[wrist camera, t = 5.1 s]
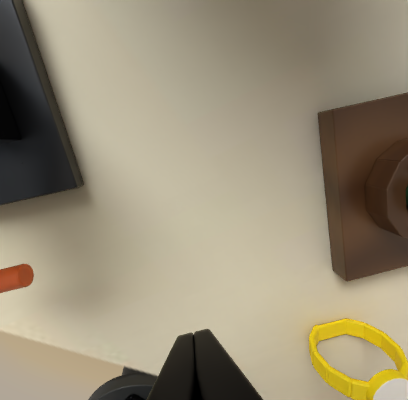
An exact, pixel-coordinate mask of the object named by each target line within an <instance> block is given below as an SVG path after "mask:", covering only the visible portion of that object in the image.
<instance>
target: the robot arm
mask: <svg viewBox="0 0 408 400" xmlns="http://www.w3.org/2000/svg"><path fill="white" fill-rule="evenodd" d="M125 400H145V399H144V398H142V397H140V396H139V395H137V394H130V395H129V396H128V397H127V398H126V399H125ZM147 400H263V399H262V397H261V396H260V395H259V393H258V392H257V391H256V390H255V388H254V387H253V386H252V384H251V383H250V382H249V380H248V379H247V378H246V377H245V375H244V374H243V373H242V371H241V370H240V369H239V367H238V366H237V365H236V364H235V362H234V361H233V360H232V358H231V357H230V356H229V354H228V353H227V352H226V350H225V349H224V348H223V347H222V345H221V344H220V343H219V341H218V340H217V339H216V337H215V336H214V335H213V334H212V332H211V331H210V330H209V329H204V330H200V331H196V332H195V333H194V334H193V333H188V334H184V335H180V336H178V337H177V339H176V341H175V343H174V345H173V347H172V349H171V351H170V353H169V355H168V357H167V359H166V361H165V363H164V365H163V368H162V370H161V372H160V374H159V376H158V378H157V380H156V382H155V384H154V386H153V388H152V390H151V392H150V394H149V396H148V398H147Z"/></svg>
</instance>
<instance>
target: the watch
mask: <svg viewBox="0 0 408 400" xmlns="http://www.w3.org/2000/svg"><path fill="white" fill-rule="evenodd" d="M344 334H348V335H352V336H356V337H360V338H364V339H365V340H367V341H369V342H371V343H372V344H374V345H376V346H378V347H380V348H381V349H382V350H383V351H384V352H385V353H386V354H387V355H388V356H389V357H390V358H391V359H392V360H393V361H394V362H395V364H396V367H397V369H398V371H397V370H393V369H388V370H384V371H381V372H379V373H377V374H376V375H374V376H373V377H372V378H371V379H370V380H369V382H366V381H362V380H357V379H352V378H350V377H348V376H346V375H345V374H343V373H341V372H339V371H338V370H336V369H334V368H332V367H331V366H330V365H329V364H328V363H327V362H326V361H325V360H324V358H323V357H322V356H321V355H320V354H319V353H318V351H317V347H316V346H317V344H318V342H319V341H321V340H325V339H329V338H332V337H336V336H340V335H344ZM309 352H310V356H311V361H312V365H313V366H314V368H315V370H316V371H317V372H318V373H319V374H320V376H321V377H322V378H323V379H324V381H325V382H326V383H328V384H329V385H330V386H331V387H333V388H334V389H336V390H338V391H339V392H341V393H342V394H344V395H346V396H347V397H351V398H352V399H355V400H408V361H407V359H406V357H405V354H404V352H403V350H402V349H401V348H400V346H399V345H398V344H397V343H396V342H394V341H393V340H392V339H391V338H390V337H389V336H388V335H387V334H386V333H384V332H383V331H381V330H379V329H377V328H375V327H373V326H371V325H369V324H367V323H364V322H360V321H356V320H352V319H347V318H345V319H342V320H338V321H334V322H330V323H326V324H322V325H318V326H317V325H315V326H314V327H313V329H312V332H311V334H310V336H309Z"/></svg>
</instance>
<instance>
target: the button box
mask: <svg viewBox="0 0 408 400" xmlns="http://www.w3.org/2000/svg"><path fill="white" fill-rule="evenodd" d="M318 120H319V130H320V141H321V151H322V162H323V172H324V183H325V193H326V204H327V214H328V225H329V235H330V245H331V256H332V266H333V271H334V272H336V273H337V274H338V275H339V276H340V277H342V278H343V279H344V280H345V281H351V280H355V279H359V278H363V277H367V276H371V275H374V274H378V273H382V272H386V271H390V270H394V269H397V268H401V267H405V266H408V207H407V204H406V189H407V186H408V93H404V94H399V95H395V96H390V97H386V98H381V99H377V100H372V101H368V102H363V103H359V104H354V105H350V106H345V107H341V108H336V109H332V110H327V111H322V112H319V113H318Z"/></svg>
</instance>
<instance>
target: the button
mask: <svg viewBox="0 0 408 400" xmlns="http://www.w3.org/2000/svg"><path fill="white" fill-rule="evenodd" d="M406 204H407V207H408V186H407V189H406Z"/></svg>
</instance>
